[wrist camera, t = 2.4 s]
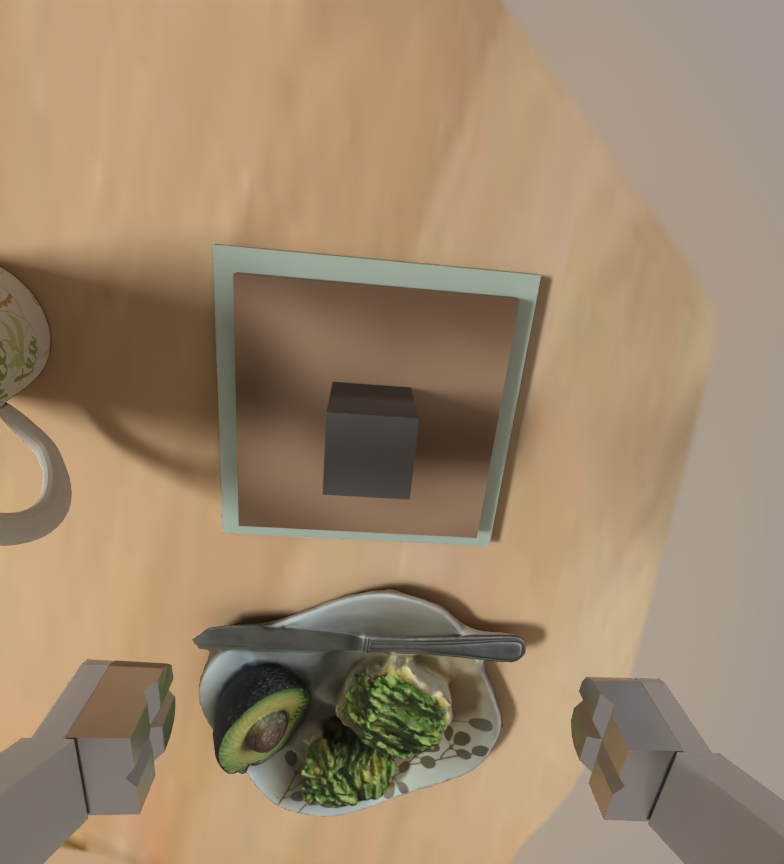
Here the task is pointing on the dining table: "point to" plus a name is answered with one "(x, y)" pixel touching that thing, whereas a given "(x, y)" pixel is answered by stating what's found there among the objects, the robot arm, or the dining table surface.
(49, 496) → the mug
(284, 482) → the walnut lid
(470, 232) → the dining table surface
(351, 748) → the salad plate
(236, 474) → the green mat
